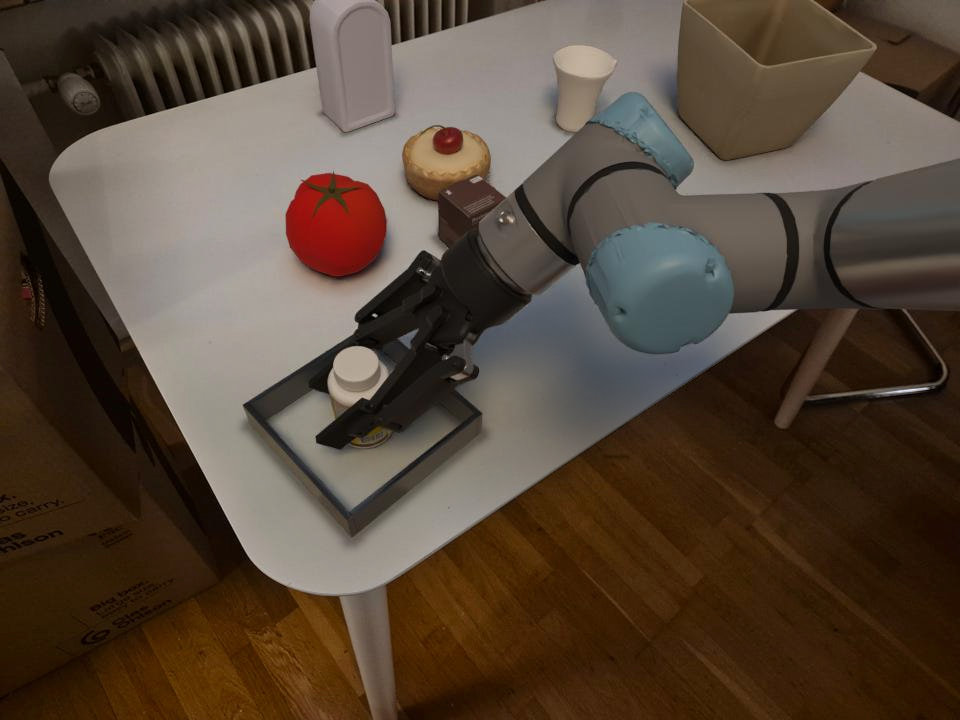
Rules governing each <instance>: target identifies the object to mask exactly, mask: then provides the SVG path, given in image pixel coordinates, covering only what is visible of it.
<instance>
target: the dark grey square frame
mask: <svg viewBox="0 0 960 720" xmlns="http://www.w3.org/2000/svg"><path fill="white" fill-rule="evenodd" d="M352 338H353V334H351V335H349V336H348V337H346V338H344V339H343V340H342V341H340V342H338V343H337V344H335V345H334V346H332V347H330V348H329V349H328V350H326V351H325V352H323V353H321V354H319V355H318V356H316V357H315V358H313V359H311V360H310V361H309V362H307V363H305V364H304V365H303V366H301V367H299V368H298V369H296V370H294V371H293V372H291V373H290V374H288V375H287V376H285V377H284V378H282V379H281V380H279V381H277V382H275V383H274V384H273V385H271V386H269V387H268V388H266V389H265V390H263V391H262V392H260V393H259V394H257V395H255V396H254V397H252V398H251V399H249V400H248V401H246V402H244V403H243V404H242V408H243V410H244V413H245V415H246V418H247V420H248V422H249V425H250V427H252V429H253V430H254V431H255V432H256V433H257V434H258V435H259V436H260V438H262V440H263V441H264V442H265V443H266V444H267V445H268V446H269V447H270V448H271V450H272V451H273V452H274V453H275V454H276V455H277V457H279V459H280V460H281V461H282V462H283V463H284V464H285V465H286V466H287V468H288V469H289V470H290V471H291V472H292V473H293V474H294V475H295V476H296V477H297V479H298V480H299V481H300V482H301V483H302V485H304V486H305V488H306V489H307V490H308V491H309V492H310V494H312V496H313V497H314V498H315V499H316V500H317V501H318V502H319V503H320V505H322V507H323V508H324V509H325V510H326V511H327V512H328V513H329V515H331V516H332V518H333V519H334V520H335V521H336V522H337V523H338V525H340V526H341V527H342V529H343V530H344V531H345V532H346V533H347V534H348V535H349V537H350V538H353V537H354V536H356V535H357V534H358V533H359V532H361V531H362V530H363V529H365V528H366V527H367V526H368V525H369V524H370V523H372V522H373V521H374V520H376V519H377V518H378V517H379V516H381V515H382V514H383V513H384V512H385V511H386V510H388V509H389V508H390V507H392V506H393V505H394V504H395V503H396V502H397V501H399V500H400V499H401V498H402V497H404V496H405V495H406V494H407V493H409V492H410V491H411V490H412V489H413V488H415V487H416V486H417V485H418V484H420V483H421V482H422V481H423V480H425V479H426V478H427V477H428V476H429V475H431V474H432V473H433V472H434V471H436V470H437V469H438V468H439V467H441V466H442V465H443V464H444V463H446V461H448V460H450V458H451V457H452V456H454V455H455V454H457V453H458V452H459V451H460V450H462V448H464V447H465V446H466V445H468V444H469V443H470V442H471V441H473V440H474V439H475V438H476V437H477V436H479V434H481V433H482V425H483V423H482V422H483V414H484V413H483V412H482V411H481V410H480V409H478V408H477V407H476V406H475V405H474V404H473V403H472V402H470V401H469V400H468V399H467V398H466V397H465V396H464V395H463V394H462V393H460V392H459V391H458V390H456V388H455V389H454V390H452V391H451V392H450V393H449V394H448V395H446V396H445V397H444V398H443V399H442V400H440V401H439V402H438V403H440V404H441V405H442V406H443V407H444V408H445V409H446V410H448V411H449V413H451V414H452V415H453V416H454V417H455V418H456V419H458V420H459V421H460V422H461V423H460V424H459V425H457V426H456V427H455V428H454V429H452V430H451V431H450V432H449V433H447V434H446V435H444V436H443V437H442V438H441V439H440V440H438V441H437V442H436V443H435V444H433V445H432V446H431V447H430V448H428V449H427V450H426V451H424V452H423V453H422V454H421V455H419V456H418V457H417V458H416V459H414V460H413V461H412V462H410V463H409V464H408V465H406V467H404V468H403V469H402V470H400V471H399V472H397V474H395V475H394V476H393V477H392V478H390V479H389V480H388V481H386V482H385V483H384V484H382V485H381V486H380V487H379V488H377V489H376V490H375V491H373V493H371V494H370V495H369V496H367V497H366V498H365V499H363V500H362V501H361V502H360V503H359V504H357V505H356V506H355V507H354V508H352V509H351V510H350V511H349V510H348V509H347V508H346V507H345V506H344V505H343V504H342V503H341V501H340V500H338V498H337V497H336V496H335V495H334V494H333V493H332V492H331V491H330V490H329V489H328V487H327V486H326V485H325V484H324V483H323V482H322V481H321V479H320V478H319V477H318V476H317V475H316V474H315V473H314V472H313V471H312V470H311V469H310V468H309V467H308V466H307V464H306V463H304V461H303V460H302V459H301V458H300V457H299V456H298V455H297V453H296V452H295V451H294V450H293V449H292V448H291V447H290V446H289V445H288V444H287V443H286V442H285V441H284V439H283V437H281V436H280V435H279V434H278V433H277V432H276V430H274V428H273V427H272V426H271V425H270V424H269V423H268V422H267V420H268V419H270V418H271V417H273V416H274V415H277V413H279V412H280V411H282V410H284V408H285V409H286V407H288V406H290V405H291V404H292V403H294V402H295V401H297V400H298V399H300V398H301V397H303V396H305V395H306V394H308V393H309V392H310V391H312V390H313V389H312V388H309V382H308V381H309V380H311V379H312V378H313V377H314V376H315V375H316V374H317V373H318V372H320V371H321V370H322V369H323V368H324V367H325V366H326V365H327V364H328V363H330V362H331V361H332V360H333V359H334V358H335V355H336V353H337V352H338V351H339V350H340V349H341V348H342V347H343V346H345V345H346V344H347V343H348V342H349V341H350V340H351V339H352ZM409 349H410V348H409V347H408V346H406V345H405V344H404V343H403V342H402V341H400V339H399V338H398V339H396V340H394V341H392V342H390V343H388V344H386V345H384V346H383V349H380V350H382V351H383V353H384V354H385V355H386V356H388V358H389V359H391V360H392V361H393V362H394V363H395V364H396V365H398V363H399V362H400V361H401V360H402V358H403V357H404V356H405V354H406V353H407V352H408V351H409ZM371 350H372V351H373V350H374V349H373V348H371Z"/></svg>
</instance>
